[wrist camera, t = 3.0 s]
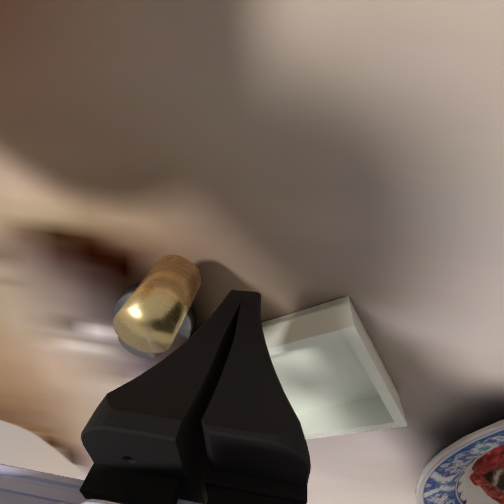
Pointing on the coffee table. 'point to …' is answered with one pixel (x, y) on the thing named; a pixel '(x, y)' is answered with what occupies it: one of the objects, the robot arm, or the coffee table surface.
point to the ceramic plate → (466, 470)
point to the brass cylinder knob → (157, 307)
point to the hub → (183, 331)
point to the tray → (332, 371)
